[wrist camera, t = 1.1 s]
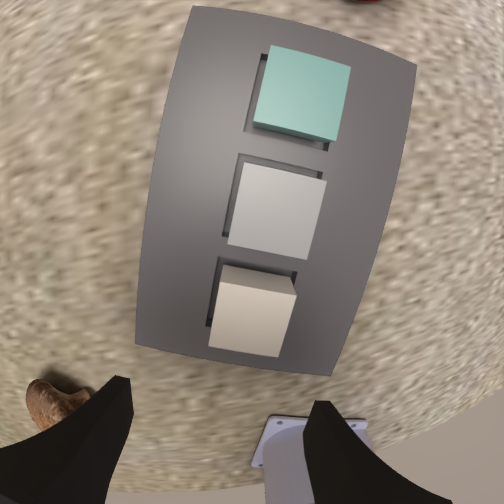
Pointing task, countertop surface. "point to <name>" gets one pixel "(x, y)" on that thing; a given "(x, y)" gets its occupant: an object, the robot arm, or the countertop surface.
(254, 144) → the keypad
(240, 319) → the ivory key
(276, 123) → the teal key
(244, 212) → the grey key
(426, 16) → the countertop surface
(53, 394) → the mushroom
